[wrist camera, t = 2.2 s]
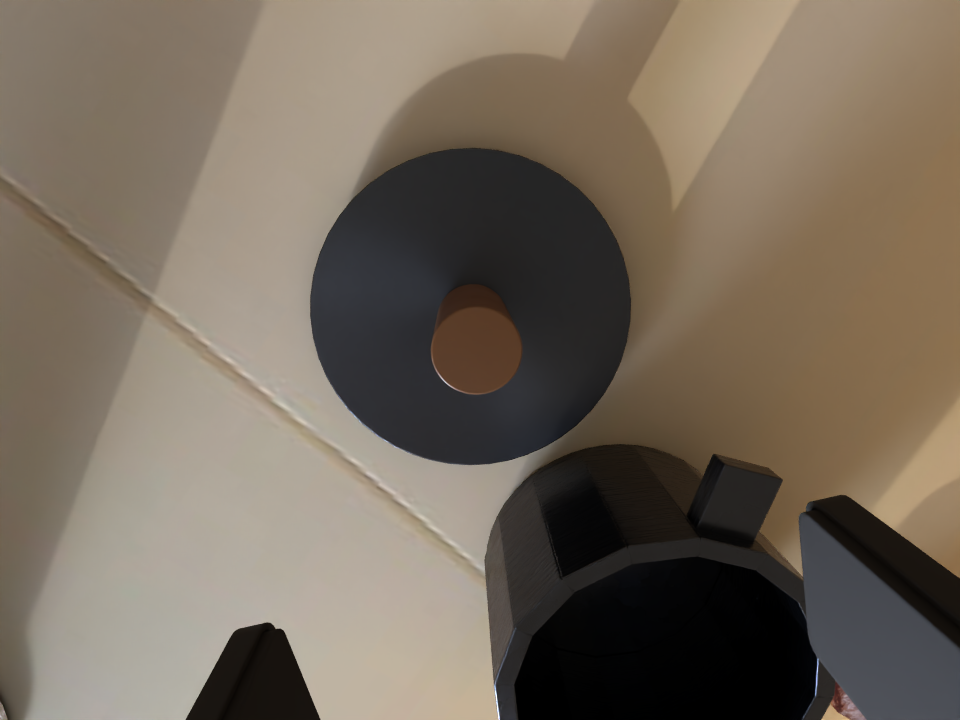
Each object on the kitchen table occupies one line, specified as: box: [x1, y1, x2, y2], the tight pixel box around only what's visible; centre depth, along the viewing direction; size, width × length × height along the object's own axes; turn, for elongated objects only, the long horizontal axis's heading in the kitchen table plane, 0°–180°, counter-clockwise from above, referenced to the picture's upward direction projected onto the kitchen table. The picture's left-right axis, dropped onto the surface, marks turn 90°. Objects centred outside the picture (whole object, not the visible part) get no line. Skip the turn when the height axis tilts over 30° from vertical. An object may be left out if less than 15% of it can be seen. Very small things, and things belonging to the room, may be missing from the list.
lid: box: [310, 148, 631, 465], centre depth 22 cm, size 15×15×7 cm
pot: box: [485, 444, 836, 720], centre depth 25 cm, size 14×19×8 cm
